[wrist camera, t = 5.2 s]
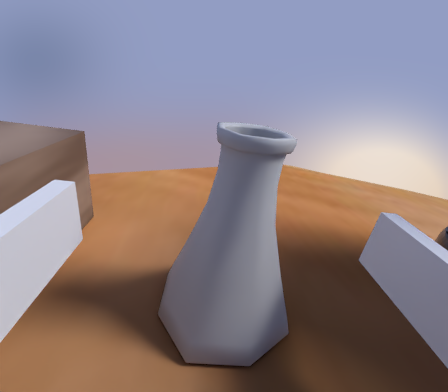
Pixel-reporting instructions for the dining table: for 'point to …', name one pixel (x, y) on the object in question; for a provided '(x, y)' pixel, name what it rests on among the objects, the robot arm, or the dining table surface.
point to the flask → (232, 257)
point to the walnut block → (42, 163)
